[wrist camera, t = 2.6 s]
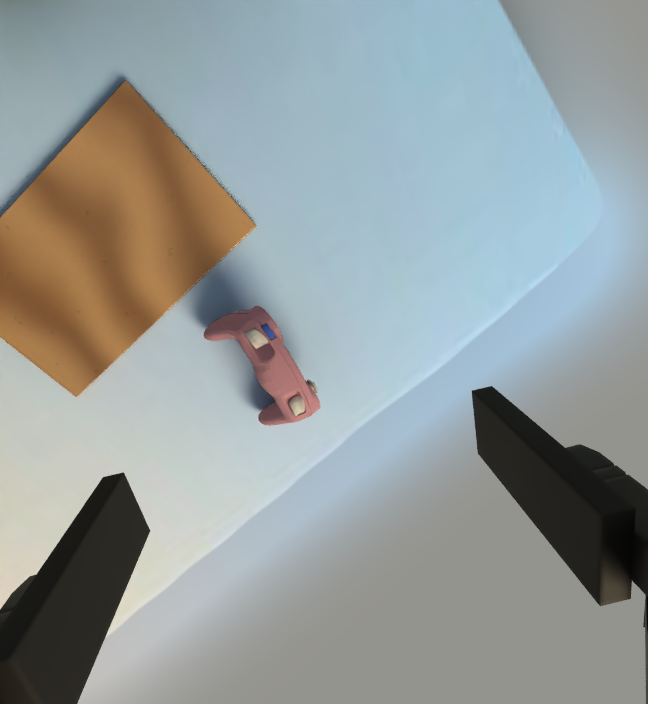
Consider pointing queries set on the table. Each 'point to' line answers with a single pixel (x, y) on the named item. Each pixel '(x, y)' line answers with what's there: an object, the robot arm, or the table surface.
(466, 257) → the table surface
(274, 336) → the video game controller
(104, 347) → the cork mat
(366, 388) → the table surface
